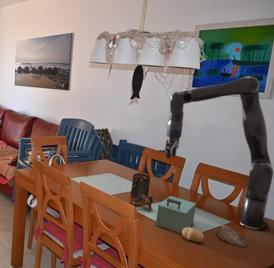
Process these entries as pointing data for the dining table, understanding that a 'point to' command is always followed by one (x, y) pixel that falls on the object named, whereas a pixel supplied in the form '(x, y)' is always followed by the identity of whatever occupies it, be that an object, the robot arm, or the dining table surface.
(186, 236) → the potato
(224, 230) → the oyster shell
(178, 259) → the dining table surface
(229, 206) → the dining table surface
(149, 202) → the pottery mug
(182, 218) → the bin
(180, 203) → the bin lid
